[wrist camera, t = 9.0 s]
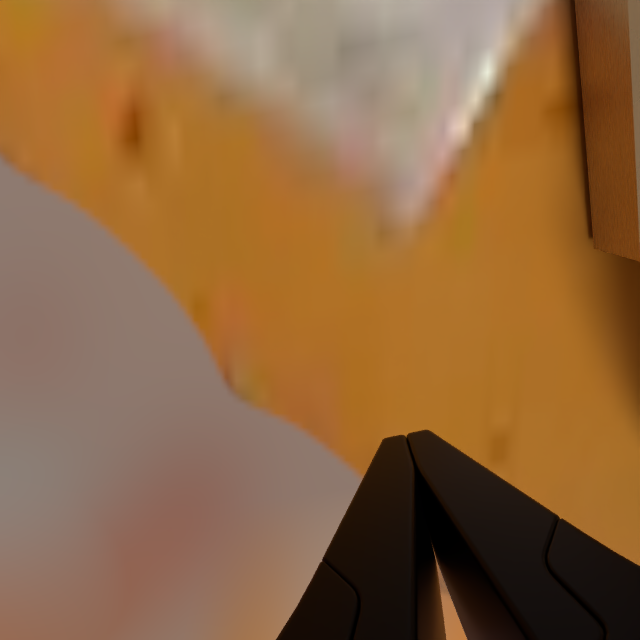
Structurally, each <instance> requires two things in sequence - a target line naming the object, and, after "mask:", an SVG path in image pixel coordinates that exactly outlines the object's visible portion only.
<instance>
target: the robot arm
mask: <svg viewBox="0 0 640 640" xmlns="http://www.w3.org/2000/svg"><path fill="white" fill-rule="evenodd" d="M432 545H433V546H432ZM433 549H434V550H433ZM434 552H435V555H434ZM435 556H436V559H437V562H438V565H439V568H440V570H441V573H442V576H443V578H444V581H445V584H446V586H447V589H448V591H449V594H450V596H451V599H452V601H453V604H454V606H455V609H456V612H457V614H458V617H459V619H460V622H461V624H462V627H463V629H464V632H465V635H466V637H467V639H468V640H640V566H639V565H637V564H635V563H633V562H632V561H630V560H628V559H626V558H625V557H623V556H621V555H619V554H617V553H616V552H614V551H613V550H611V549H609V548H608V547H606V546H605V545H603V544H601V543H600V542H598V541H597V540H595V539H593V538H592V537H590V536H589V535H587V534H585V533H584V532H582V531H581V530H579V529H578V528H576V527H575V526H573V525H572V524H570V523H569V522H567V521H566V520H564V519H560V518H559V516H558V515H556V514H555V513H553V512H552V511H550V510H549V509H547V508H546V507H544V506H543V505H541V504H540V503H538V502H537V501H535V500H534V499H532V498H531V497H529V496H528V495H526V494H525V493H523V492H522V491H520V490H518V489H517V488H515V487H514V486H512V485H511V484H509V483H508V482H506V481H505V480H503V479H502V478H500V477H499V476H497V475H496V474H494V473H493V472H491V471H490V470H488V469H487V468H485V467H484V466H482V465H481V464H479V463H478V462H476V461H475V460H473V459H472V458H470V457H469V456H467V455H466V454H464V453H463V452H461V451H460V450H458V449H457V448H455V447H454V446H452V445H451V444H449V443H448V442H446V441H445V440H443V439H442V438H440V437H439V436H437V435H436V434H434V433H433V432H431V431H429V430H422V431H417V432H412V433H409V434H408V435H407V438H406V436H404V435H398V436H393V437H388V438H384V439H383V440H382V442H381V444H380V446H379V448H378V450H377V452H376V454H375V456H374V458H373V460H372V462H371V464H370V466H369V468H368V470H367V472H366V474H365V476H364V478H363V480H362V482H361V484H360V486H359V488H358V490H357V492H356V494H355V496H354V498H353V500H352V501H351V504H350V506H349V507H348V509H347V511H346V514H345V515H344V517H343V519H342V521H341V523H340V525H339V527H338V529H337V531H336V533H335V535H334V537H333V539H332V541H331V543H330V545H329V547H328V549H327V551H326V553H325V555H324V557H323V559H322V562H321V563H320V564H319V566H318V568H317V570H316V572H315V574H314V576H313V578H312V580H311V582H310V584H309V585H308V587H307V589H306V591H305V593H304V594H303V596H302V598H301V600H300V602H299V604H298V606H297V607H296V609H295V610H294V612H293V614H292V615H291V617H290V618H289V620H288V621H287V623H286V625H285V626H284V628H283V629H282V631H281V633H280V634H279V636H278V637H277V639H276V640H446V634H445V626H444V618H443V610H442V602H441V594H440V586H439V578H438V571H437V565H436V559H435Z"/></svg>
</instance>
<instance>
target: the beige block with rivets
mask: <svg viewBox="0 0 640 640" xmlns="http://www.w3.org/2000/svg"><path fill="white" fill-rule="evenodd" d="M575 11H576V24H577V37H578V50H579V62H580V75H581V88H582V101H583V114H584V127H585V140H586V153H587V166H588V179H589V192H590V204H591V217H592V230H593V243H594V249H597V250H601V251H604V252H608V253H611V254H615V255H618V256H622V257H625V258H629V259H632V260H636V261H639V262H640V0H575Z"/></svg>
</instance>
